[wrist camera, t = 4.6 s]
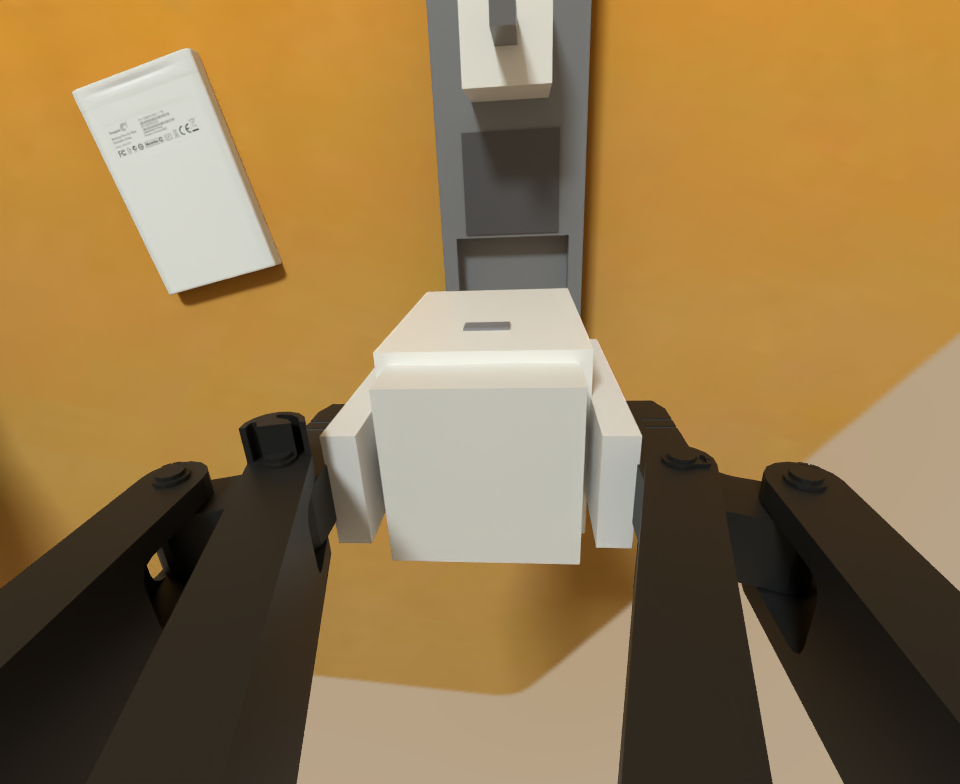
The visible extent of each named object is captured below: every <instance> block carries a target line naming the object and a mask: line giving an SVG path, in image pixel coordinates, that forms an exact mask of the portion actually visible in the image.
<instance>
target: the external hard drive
mask: <svg viewBox="0 0 960 784" xmlns="http://www.w3.org/2000/svg"><path fill="white" fill-rule="evenodd" d="M72 94H73V96H74V98H75V101H76V103H77V105H78V107H79V109H80V111H81V113H82V115H83V117H84V119H85V121H86V123H87V125H88V127H89V129H90V131H91V134H92V136H93V138H94V140H95V142H96V144H97V146H98V148H99V150H100V152H101V154H102V156H103V159H104V161H105V163H106V165H107V167H108V169H109V171H110V173H111V175H112V177H113V179H114V181H115V183H116V185H117V187H118V189H119V192H120V194H121V196H122V198H123V200H124V202H125V204H126V206H127V208H128V210H129V212H130V214H131V216H132V218H133V220H134V223H135V225H136V227H137V229H138V231H139V233H140V235H141V237H142V239H143V241H144V243H145V246H146V248H147V250H148V252H149V254H150V256H151V258H152V260H153V262H154V264H155V266H156V268H157V270H158V272H159V274H160V276H161V278H162V280H163V282H164V284H165V286H166V288H167V290H168V293H169V294H170V295H172V294H175V293H179V292H183V291H186V290H190V289H193V288H197V287H200V286H204V285H208V284H211V283H215V282H218V281H222V280H225V279H229V278H232V277H236V276H240V275H243V274H247V273H250V272H254V271H258V270H261V269H265V268H268V267H272V266H276V265H279V264H282V261H281V259H280V257H279V254H278V252H277V249H276V247H275V244H274V242H273V239H272V236H271V234H270V232H269V229H268V227H267V224H266V222H265V219H264V217H263V214H262V212H261V209H260V207H259V204H258V202H257V199H256V197H255V194H254V192H253V189H252V187H251V184H250V182H249V179H248V177H247V174H246V172H245V169H244V167H243V164H242V162H241V159H240V157H239V154H238V152H237V149H236V147H235V144H234V142H233V139H232V137H231V134H230V132H229V129H228V127H227V124H226V122H225V119H224V117H223V114H222V112H221V109H220V107H219V104H218V102H217V99H216V97H215V94H214V92H213V89H212V87H211V84H210V82H209V79H208V77H207V74H206V72H205V69H204V67H203V64H202V62H201V59H200V57H199V54H198V52H197V51H195V50H192V49H190V48H186V49H182V50H178V51H176V52H173V53H171V54H168V55H166V56H163V57H160V58H158V59H156V60H153V61H150V62H147V63H145V64H142V65H140V66H137V67H135V68H132V69H129V70H126V71H124V72H121V73H118V74H116V75H113V76H110V77H108V78H105V79H102V80H100V81H97V82H95V83H92V84H89V85H87V86H84V87H81V88H78V89H76V90H75V91H73V92H72Z"/></svg>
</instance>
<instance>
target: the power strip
mask: <svg viewBox="0 0 960 784" xmlns="http://www.w3.org/2000/svg"><path fill="white" fill-rule="evenodd" d="M591 2H592V0H426V4H427V19H428V34H429V48H430V63H431V77H432V92H433V106H434V121H435V135H436V150H437V165H438V179H439V194H440V208H441V223H442V237H443V252H444V266H445V281H446V291H480V290H517V289H554V288H568V290H569V292H570V295H571V297H572V299H573V302H574V304H575V306H576V309H577V311H578V313H579V316H580V315H581V286H582V258H583V230H584V201H585V173H586V144H587V116H588V87H589V59H590V30H591Z"/></svg>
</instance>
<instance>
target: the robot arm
mask: <svg viewBox="0 0 960 784" xmlns="http://www.w3.org/2000/svg"><path fill="white" fill-rule="evenodd" d="M590 342H591V344H592V346H593V349H594V355H593V376H592V397H590V418H589V439H588V461H587V483H586V499H587V504H588V509H589V514H590V519H591V524H592V529H593V534H594V539H595V544H596V548H632V542H633V531H634V530H635V533H636V536H637V539H638V545H637V555H636V566H635V576H634V586H633V588H634V591H633V603H632V616H631V628H630V640H629V652H628V665H627V677H626V690H625V701H624V714H623V726H622V738H621V750H620V762H619V774H618V784H773V783H772V777H771V772H770V766H769V760H768V754H767V749H766V744H765V737H764V732H763V726H762V720H761V715H760V708H759V702H758V697H757V691H756V685H755V680H754V673H753V668H752V662H751V656H750V650H749V645H748V639H747V634H746V627H745V622H744V616H743V610H742V605H741V598H740V593H739V587H738V582H739V583H742V587H743V591H744V593H745V595H746V597H747V599H748V600H749V602H750V604H751V606H752V608H753V610H754V612H755V614H756V616H757V618H758V619H759V621H760V624H761V625H762V627H763V629H764V631H765V633H766V635H767V637H768V639H769V641H770V643H771V644H772V646H773V648H774V650H775V652H776V654H777V656H778V658H779V660H780V662H781V664H782V666H783V668H784V669H785V671H786V673H787V675H788V677H789V679H790V681H791V683H792V685H793V687H794V689H795V691H796V692H797V694H798V696H799V698H800V700H801V702H802V704H803V706H804V708H805V710H806V712H807V714H808V716H809V717H810V719H811V721H812V723H813V725H814V727H815V729H816V731H817V733H818V735H819V737H820V738H821V740H822V742H823V744H824V746H825V748H826V750H827V752H828V754H829V756H830V758H831V760H832V762H833V764H834V765H835V767H836V769H837V771H838V773H839V775H840V777H841V779H842V781H843V783H844V784H960V591H959V590H957V589H956V588H955V587H954V586H953V585H952V584H951V583H950V582H949V581H948V580H947V579H946V578H945V577H944V576H943V575H942V574H941V573H939V571H938V570H936V569H935V568H934V567H933V566H932V565H931V564H930V563H929V562H928V561H927V560H926V559H925V558H924V557H923V556H922V555H921V554H920V553H919V552H918V551H916V550H915V549H914V548H913V547H912V546H911V545H910V544H909V543H908V542H907V541H906V540H905V539H904V538H903V537H902V536H901V535H900V534H898V532H897V531H896V530H894V529H893V528H892V527H891V526H890V525H889V524H888V523H887V522H886V521H885V520H884V519H883V518H882V517H881V516H880V515H879V514H878V513H877V512H876V511H875V510H873V509H872V508H871V507H870V506H869V505H868V504H867V503H866V502H865V501H864V500H863V499H862V498H861V497H860V496H859V495H858V494H857V493H856V492H855V491H853V490H852V489H851V488H850V487H849V486H848V485H847V484H846V483H845V482H844V481H843V480H841V479H840V478H839V477H837V476H836V475H834V474H833V473H830V472H828V471H826V470H824V469H821V468H820V467H818V466H815V465H811V464H810V465H808V464H807V463H802V462H798V463H795V462H780V463H774V464H772V465H769V466H767V467H766V469H765V471H764V473H763V477H762V481H756V480H750V479H745V478H739V477H734V476H730V475H725V474H723V473H720V472H719V471H718V466H717V464H716V462H715V460H714V458H712V457H711V456H709V455H708V454H707V453H705V452H703V451H700V450H698V449H695V448H692V447H689V446H688V444H687V443H686V441H685V440H684V438H683V437H682V435H681V433H680V432H679V430H678V429H677V428H676V425H675V424H674V422H673V421H672V420H671V417H670V416H669V414H668V413H667V411H666V409H665V408H663V407H661V406H660V405H658V404H656V403H655V402H653V401H626V400H625V398H624V396H623V394H622V392H621V390H620V388H619V386H618V383H617V381H616V379H615V377H614V375H613V373H612V371H611V368H610V366H609V364H608V362H607V360H606V358H605V356H604V354H603V351H602V349H601V347H600V345H599V343H598V341H597V339H590ZM375 381H376V371H375V368H374V369H373V370H372V372H371V373H370V374H369V375H368V377H367V378H366V379H365V380H364V382H363V383H362V384H361V385H360V387H359V388H358V389H357V390H356V392H355V393H354V394H353V395H352V397H351V398H350V399H349V400H348V402H347V403H346V404H332V405H331V406H329V407H327V408H325V409H323V410H322V411H320V412H318V414H317V415H316V416H315V417H314V418H313V419H312V420H311V423H309V424H308V425H307V426H306V422H305V417H304V416H302V415H301V414H299V413H294V412H276V413H271V414H266V415H262V416H259V417H256V418H254V419H252V420H250V421H248V422H246V423H244V424H243V425H242V426H241V427H240V428H239V432H240V436H241V440H242V443H243V447H244V451H245V455H246V459H247V463H248V464H247V466H246V468H245V470H244V472H243V474H242V475H238V476H232V477H226V478H220V479H214V480H211V478H210V475H209V472H208V468H207V466H206V465H204V464H203V463H201V462H193V461H190V462H175V463H173V464H167V465H164V466H162V467H161V468H159V469H157V470H154V471H152V472H150V473H149V474H147V475H146V476H144V477H142V478H141V479H140V480H138V481H137V482H136V483H135V484H133V485H132V486H131V487H129V488H128V489H127V490H126V491H124V492H123V493H122V494H121V495H119V496H118V497H117V498H115V499H114V500H113V501H112V502H110V503H109V504H108V505H107V506H105V507H104V508H103V509H101V510H100V511H99V512H98V513H96V514H95V515H94V516H93V517H91V518H90V519H89V520H87V521H86V522H85V523H84V524H82V525H81V526H80V527H79V528H77V529H76V530H75V531H73V532H72V533H71V534H70V535H68V536H67V537H66V538H65V539H63V540H62V541H61V542H59V543H58V544H57V545H56V546H54V547H53V548H52V549H51V550H49V551H48V552H47V553H45V554H44V555H43V556H42V557H40V558H39V559H38V560H37V561H35V562H34V563H33V564H31V565H30V566H29V567H28V568H26V569H25V570H24V571H23V572H21V573H20V574H19V575H17V576H16V577H15V578H14V579H12V580H11V581H10V582H9V583H7V584H6V585H5V586H3V587H2V588H1V589H0V784H296V783H297V777H298V770H299V763H300V756H301V749H302V743H303V737H304V730H305V724H306V717H307V709H308V703H309V697H310V690H311V683H312V677H313V671H314V664H315V657H316V651H317V644H318V637H319V631H320V624H321V618H322V611H323V604H324V598H325V591H326V584H327V578H328V571H329V565H330V558H331V549H330V544H329V539H328V535H329V533H330V531H331V530H332V528H333V526H334V524H335V522H336V527H337V533H338V538H339V543H372V542H373V539H374V537H375V535H376V532H377V530H378V527H379V525H380V523H381V520H382V518H383V516H384V513H385V511H386V509H385V502H384V495H383V487H382V480H381V473H380V466H379V459H378V451H377V444H376V437H375V430H374V423H373V415H372V408H371V401H370V394H369V389H370V387H371V386H372V385H373V383H374V382H375ZM156 552H157V554H158V557H159V560H160V562H161V565H162V568H163V570H162V571H161V572H160V573H159V574H158V575H157V576H156V577H155V578H152V577H151V575H150V573H149V570H148V568H147V564H148V562H149V561H150V559H151V558H152V556H153V555H154V554H155V553H156Z"/></svg>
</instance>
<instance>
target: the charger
mask: <svg viewBox="0 0 960 784" xmlns="http://www.w3.org/2000/svg"><path fill="white" fill-rule="evenodd" d="M593 355H594V349H593V346H592V344H591V342H590V339H589V337H588V335H587V332H586V330H585V328H584V325H583V323H582V320H581V318H580V316H579V313H578V311H577V309H576V306H575V304H574V302H573V299H572V297H571V295H570V292H569V290H568V288H554V289H517V290H480V291H443V292H427V293H426V294H425V295H424V296H423V297H422V298H421V299H420V301H419V302H418V303H417V304H416V305H415V306H414V307H413V308H412V310H411V311H410V312H409V313H408V314H407V315H406V316H405V317H404V319H403V320H402V321H401V322H400V323H399V324H398V325H397V326H396V328H395V329H394V330H393V331H392V332H391V333H390V334H389V335H388V337H387V338H386V339H385V340H384V341H383V342H382V343H381V345H380V346H379V347H378V348H377V349H376V350H375V351H374V352H373V356H374V363H375V371H376V381H375V382H374V383H373V385H372V386H371V387H370V389H369V394H370V401H371V408H372V415H373V423H374V430H375V437H376V444H377V451H378V459H379V466H380V473H381V480H382V487H383V495H384V502H385V509H386V516H387V523H388V531H389V538H390V545H391V552H392V560H403V561H448V562H492V563H537V564H580V549H581V533H585V525H586V503H587V499H586V483H587V461H588V439H589V418H590V397H592V376H593Z"/></svg>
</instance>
